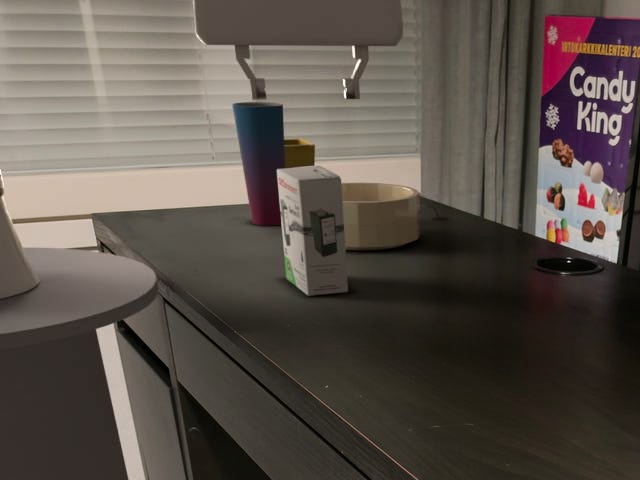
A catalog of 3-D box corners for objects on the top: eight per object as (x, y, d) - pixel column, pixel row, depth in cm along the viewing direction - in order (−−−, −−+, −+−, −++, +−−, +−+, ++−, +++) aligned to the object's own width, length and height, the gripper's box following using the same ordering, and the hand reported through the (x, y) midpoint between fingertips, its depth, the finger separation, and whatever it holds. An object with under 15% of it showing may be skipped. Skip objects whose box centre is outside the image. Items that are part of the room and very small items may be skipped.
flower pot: (252, 202, 147) (245, 139, 142) (306, 199, 150) (300, 137, 145) (265, 212, 141) (258, 146, 135) (320, 209, 144) (315, 144, 138)
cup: (238, 225, 132) (224, 105, 124) (256, 216, 138) (243, 101, 129) (283, 227, 131) (272, 107, 123) (299, 219, 137) (289, 103, 128)
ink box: (284, 279, 107) (273, 166, 100) (325, 275, 109) (316, 164, 102) (307, 297, 101) (297, 177, 94) (350, 292, 103) (343, 175, 96)
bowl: (308, 254, 118) (304, 203, 114) (301, 230, 130) (297, 183, 127) (428, 250, 121) (427, 201, 117) (410, 227, 133) (408, 181, 130)
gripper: (175, -77, 82) (200, 102, 90) (403, -70, 85) (407, 101, 93) (179, -73, 87) (202, 96, 95) (393, -67, 91) (398, 96, 98)
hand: (306, 99), depth 94 cm, fingers open, 8 cm apart
